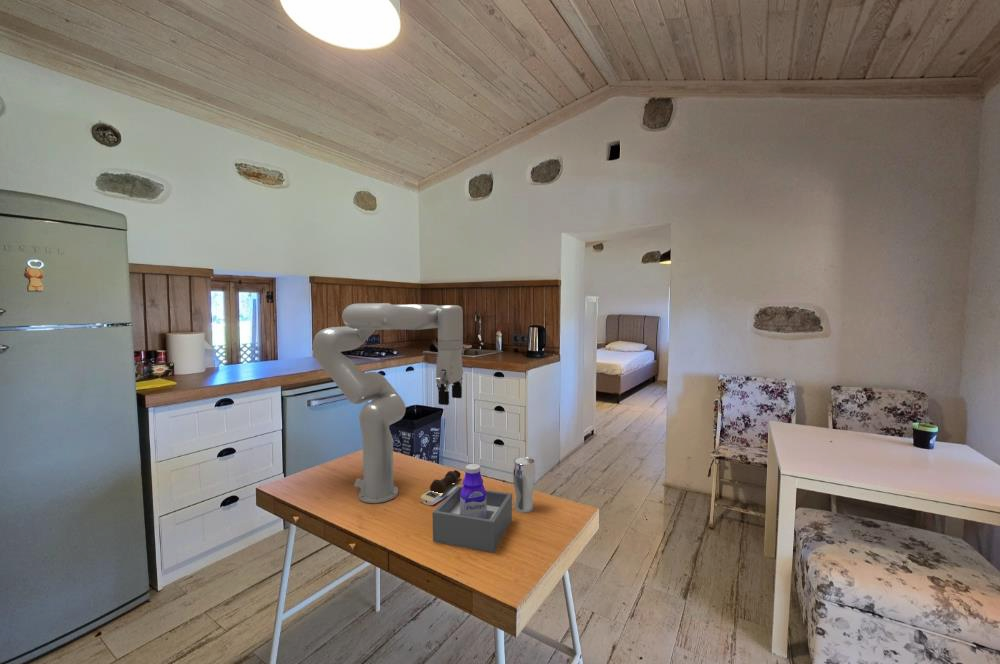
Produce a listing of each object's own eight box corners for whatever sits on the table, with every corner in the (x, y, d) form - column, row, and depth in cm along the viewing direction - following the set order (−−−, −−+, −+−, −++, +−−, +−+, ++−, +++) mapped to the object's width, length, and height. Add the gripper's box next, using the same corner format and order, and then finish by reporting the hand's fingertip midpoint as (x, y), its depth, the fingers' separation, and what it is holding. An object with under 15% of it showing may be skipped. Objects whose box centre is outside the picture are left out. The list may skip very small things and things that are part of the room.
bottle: (463, 535, 112) (463, 471, 111) (457, 525, 118) (457, 464, 117) (489, 529, 115) (489, 467, 114) (482, 520, 120) (482, 460, 119)
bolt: (458, 484, 151) (438, 500, 137) (448, 475, 153) (427, 491, 139) (466, 471, 150) (446, 487, 136) (455, 463, 152) (434, 477, 138)
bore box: (432, 541, 111) (432, 512, 111) (458, 511, 127) (458, 486, 127) (493, 552, 106) (493, 522, 106) (511, 520, 122) (512, 493, 122)
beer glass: (508, 508, 130) (508, 460, 129) (522, 500, 135) (522, 455, 134) (525, 516, 125) (525, 466, 124) (539, 507, 130) (540, 460, 129)
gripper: (450, 343, 137) (450, 394, 138) (426, 347, 121) (426, 406, 122) (472, 343, 135) (472, 396, 136) (449, 348, 118) (450, 408, 119)
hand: (450, 401), depth 129 cm, fingers open, 9 cm apart
